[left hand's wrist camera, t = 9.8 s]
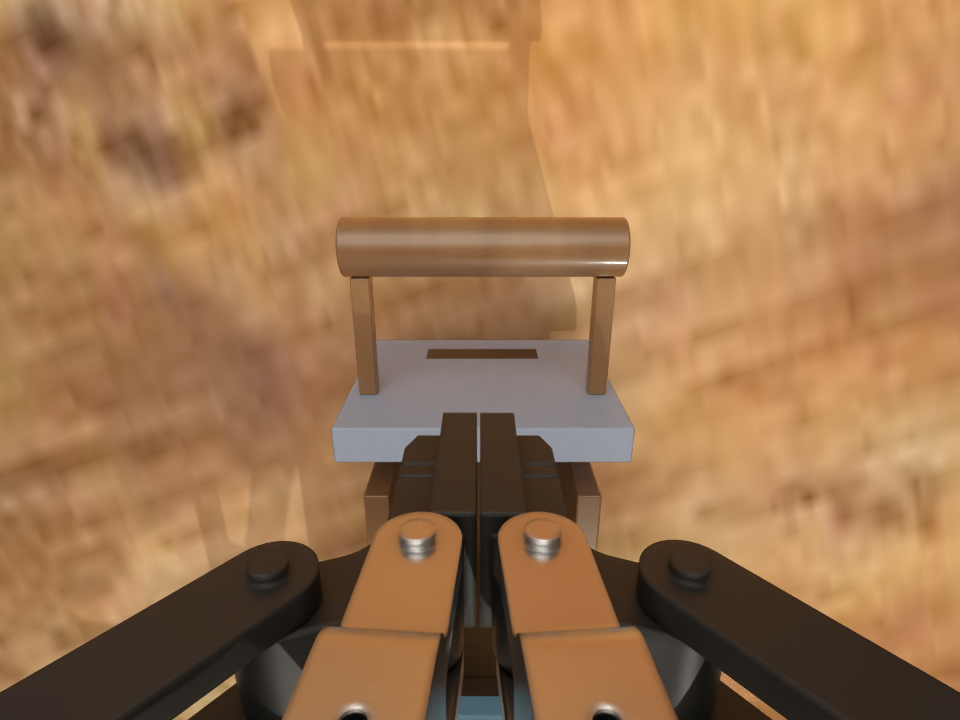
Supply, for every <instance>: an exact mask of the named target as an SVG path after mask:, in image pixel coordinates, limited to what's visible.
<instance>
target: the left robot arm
mask: <svg viewBox="0 0 960 720" xmlns="http://www.w3.org/2000/svg"><path fill="white" fill-rule="evenodd" d="M476 586H477V412H444V413H443V417H442V424H441V432H440V435H418V436H417V437H416V438H415V439H414V440H413V441H412V442H410V443H409V444H408V445H407V446H406V447H405V449H404V454H403V458H402V462H401V466H400V470H399V474H398V478H397V483H396V487H395V491H394V495H393V499H392V503H391V507H390V512H389V516H388V520H387V522H386V523H384V524H383V525H382V526H381V527H380V528H379V529H378V531H377V532H376V534H375V536H374V538H373V541H372V543H371V544H370V545H369V546H367V547H366V548H364V549H362V550H360V551H358V552H355V553H353V554H350V555H347V556H343V557H339V558H335V559H330V560H326V561H322V562H318V558H317V555H316V554H315V552H314V551H313V550H312V549H310V548H309V547H307V546H306V545H304V544H301V543H297V542H291V541H277V542H270V543H265V544H262V545H258V546H256V547H253V548H251V549H249V550H247V551H245V552H243V553H241V554H239V555H238V556H236V557H234V558H232V559H231V560H229V561H227V562H225V563H224V564H222V565H220V566H218V567H217V568H215V569H213V570H212V571H210V572H208V573H206V574H205V575H203V576H201V577H199V578H198V579H196V580H194V581H193V582H191V583H189V584H187V585H186V586H184V587H182V588H180V589H179V590H177V591H175V592H173V593H172V594H170V595H168V596H167V597H165V598H163V599H161V600H160V601H158V602H156V603H154V604H153V605H151V606H149V607H147V608H146V609H144V610H142V611H141V612H139V613H137V614H135V615H134V616H132V617H130V618H128V619H127V620H125V621H123V622H122V623H120V624H118V625H116V626H115V627H113V628H111V629H109V630H108V631H106V632H104V633H102V634H101V635H99V636H97V637H96V638H94V639H92V640H90V641H89V642H87V643H85V644H83V645H82V646H80V647H78V648H76V649H75V650H73V651H71V652H70V653H68V654H66V655H64V656H63V657H61V658H59V659H57V660H56V661H54V662H52V663H51V664H49V665H47V666H45V667H44V668H42V669H40V670H38V671H37V672H35V673H33V674H31V675H30V676H28V677H26V678H25V679H23V680H21V681H19V682H18V683H16V684H14V685H12V686H11V687H9V688H7V689H5V690H4V691H2V692H0V720H172V719H174V718H175V717H176V716H178V715H179V714H181V713H182V712H183V711H185V710H186V709H187V708H189V707H190V706H191V705H193V704H194V703H195V702H197V701H198V700H200V699H201V698H202V697H204V696H205V695H206V694H208V693H209V692H210V691H212V690H213V689H214V688H216V687H217V686H218V685H220V684H221V683H223V682H224V681H225V680H227V679H228V678H229V677H231V676H232V675H233V674H235V678H236V684H235V685H233V686H232V687H231V688H229V689H228V690H227V691H225V692H224V693H223V694H221V695H220V696H219V697H217V698H216V699H215V700H213V701H212V702H211V703H209V704H208V705H207V706H205V707H204V708H203V709H201V710H200V711H199V712H197V713H196V714H195V715H193V716H192V717H191V718H189V719H188V720H458V717H459V708H460V700H461V691H462V683H463V674H464V627H476ZM480 628H492V646H493V652H494V654H495V657H496V674H497V683H498V691H499V700H500V708H501V717H502V720H772V719H771V718H769V717H768V716H767V715H765V714H764V713H763V712H761V711H760V710H759V709H757V708H756V707H755V706H753V705H752V704H751V703H749V702H748V701H747V700H745V699H744V698H743V697H741V696H740V695H739V694H737V693H736V692H735V691H733V690H732V689H731V688H729V687H728V686H727V685H725V684H724V683H723V682H721V681H720V676H721V671H722V672H724V673H725V674H727V675H728V676H729V677H731V678H732V679H733V680H735V681H736V682H737V683H739V684H740V685H741V686H743V687H744V688H746V689H747V690H748V691H750V692H751V693H752V694H754V695H755V696H756V697H758V698H759V699H760V700H762V701H763V702H765V703H766V704H767V705H769V706H770V707H771V708H773V709H774V710H775V711H777V712H778V713H779V714H781V715H782V716H784V717H785V718H786V719H787V720H960V692H958V691H956V690H954V689H953V688H951V687H949V686H948V685H946V684H944V683H942V682H941V681H939V680H937V679H935V678H934V677H932V676H930V675H929V674H927V673H925V672H923V671H922V670H920V669H918V668H916V667H915V666H913V665H911V664H909V663H908V662H906V661H904V660H903V659H901V658H899V657H897V656H896V655H894V654H892V653H890V652H889V651H887V650H885V649H883V648H882V647H880V646H878V645H877V644H875V643H873V642H871V641H870V640H868V639H866V638H864V637H863V636H861V635H859V634H858V633H856V632H854V631H852V630H851V629H849V628H847V627H845V626H844V625H842V624H840V623H838V622H837V621H835V620H833V619H832V618H830V617H828V616H826V615H825V614H823V613H821V612H819V611H818V610H816V609H814V608H812V607H811V606H809V605H807V604H806V603H804V602H802V601H800V600H799V599H797V598H795V597H793V596H792V595H790V594H788V593H787V592H785V591H783V590H781V589H780V588H778V587H776V586H774V585H773V584H771V583H769V582H767V581H766V580H764V579H762V578H761V577H759V576H757V575H755V574H754V573H752V572H750V571H748V570H747V569H745V568H743V567H742V566H740V565H738V564H736V563H735V562H733V561H731V560H729V559H728V558H726V557H724V556H722V555H721V554H719V553H717V552H716V551H714V550H712V549H710V548H708V547H705V546H703V545H700V544H697V543H693V542H689V541H684V540H665V541H660V542H656V543H654V544H652V545H650V546H648V547H647V548H646V549H645V550H644V551H643V552H642V554H641V556H640V559H639V563H638V562H633V561H629V560H624V559H620V558H616V557H612V556H608V555H605V554H603V553H600V552H597V551H596V550H594V549H592V548H590V546H589V543H588V541H587V538H586V536H585V534H584V532H583V531H582V529H581V528H580V527H579V526H578V525H577V524H576V523H574V522H573V521H571V520H570V519H568V515H567V511H566V506H565V502H564V498H563V493H562V489H561V485H560V480H559V478H558V472H557V467H556V466H555V459H554V454H553V450H552V448H551V447H550V446H549V445H548V444H547V443H546V442H545V441H544V440H543V439H542V438H541V437H540V436H539V435H517V433H516V425H515V417H514V413H480Z"/></svg>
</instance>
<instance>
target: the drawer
mask: <svg viewBox="0 0 960 720" xmlns="http://www.w3.org/2000/svg"><path fill="white" fill-rule="evenodd" d="M336 255H337V262H338V266H339V270H340V272H341V274H342V275H343V276H345V277H351V278H350V287H351V299H352V310H353V322H354V334H355V346H356V358H357V370H358V377H357V379H356V381H355V383H354V385H353V387H352V389H351V391H350V393H349V395H348V397H347V399H346V401H345V403H344V405H343V407H342V409H341V411H340V413H339V415H338V417H337V419H336V421H335V423H334V425H333V427H332V429H331V431H332V440H333V450H334V459H335V462H375V463H374V466H373V469H372V473H371V476H370V479H369V482H368V485H367V488H366V491H365V494H364V505H365V517H366V528H367V540H368V546H369V545H370V544H371V543H372V541H373V538H374V536H375V534H376V532H377V531H378V529H379V528H380V527H381V526H382V525H383V524H384V523H386V522H387V520H388V516H389V512H390V507H391V503H392V499H393V495H394V491H395V487H396V483H397V478H398V474H399V470H400V466H401V462H402V458H403V454H404V449H405V447H406V446H407V445H408V444H409V443H410V442H412V441H413V440H414V439H415V438H416V437H417V436H418V435H440V432H441V424H442V417H443V413H444V412H477V586H476V627H464V674H463V683H462V691H461V696H499V691H498V683H497V674H496V657H495V654H494V652H493V646H492V628H480V413H514V417H515V425H516V433H517V435H539V436H540V437H541V438H542V439H543V440H544V441H545V442H546V443H547V444H548V445H549V446H550V447H551V448H552V450H553V454H554V459H555V466H556V467H557V472H558V478H559V480H560V485H561V489H562V493H563V498H564V502H565V506H566V511H567V515H568V519H570V520H571V521H573V522H574V523H576V524H577V525H578V526H579V527H580V528H581V529H582V531H583V532H584V534H585V536H586V538H587V541H588V543H589V546H590V548H592V549H594V550H596V551H597V543H598V532H599V521H600V510H601V499H602V496H601V493H600V490H599V487H598V484H597V481H596V478H595V475H594V472H593V469H592V466H591V463H590V462H630V461H631V458H632V449H633V440H634V431H635V429H634V427H633V425H632V423H631V421H630V419H629V417H628V415H627V413H626V412H625V410H624V408H623V406H622V404H621V402H620V400H619V398H618V396H617V394H616V393H615V391H614V389H613V387H612V385H611V383H610V381H609V379H608V377H607V376H608V364H609V353H610V341H611V330H612V318H613V307H614V295H615V284H616V278H615V277H621V276H623V275H624V274H625V272H626V269H627V266H628V262H629V256H630V230H629V225H628V222H627V220H626V219H625V218H340V220H339V222H338V225H337V230H336ZM372 277H594V280H593V294H592V307H591V321H590V335H589V341H588V340H376V330H375V315H374V301H373V286H372Z"/></svg>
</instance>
